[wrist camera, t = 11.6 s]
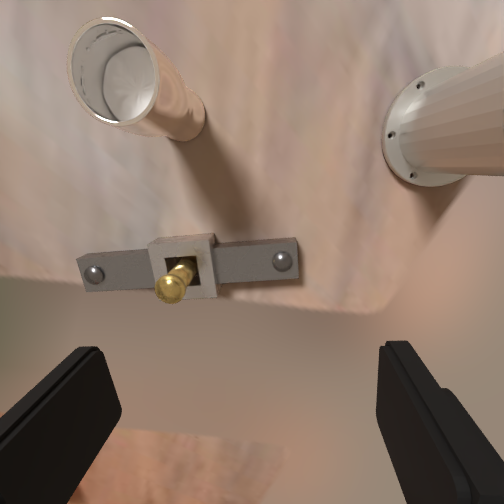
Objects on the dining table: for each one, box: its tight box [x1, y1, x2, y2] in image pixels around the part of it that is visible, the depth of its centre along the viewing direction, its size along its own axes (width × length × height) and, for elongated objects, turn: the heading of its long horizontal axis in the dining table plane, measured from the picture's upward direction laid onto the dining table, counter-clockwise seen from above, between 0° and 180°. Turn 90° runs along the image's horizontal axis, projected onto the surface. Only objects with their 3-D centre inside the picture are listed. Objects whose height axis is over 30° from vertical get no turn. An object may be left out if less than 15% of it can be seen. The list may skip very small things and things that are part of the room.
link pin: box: [155, 255, 198, 304], centre depth 34 cm, size 3×3×9 cm
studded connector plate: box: [76, 233, 299, 301], centre depth 37 cm, size 30×8×4 cm, turn 96°
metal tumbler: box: [67, 17, 205, 142], centre depth 26 cm, size 7×7×15 cm
